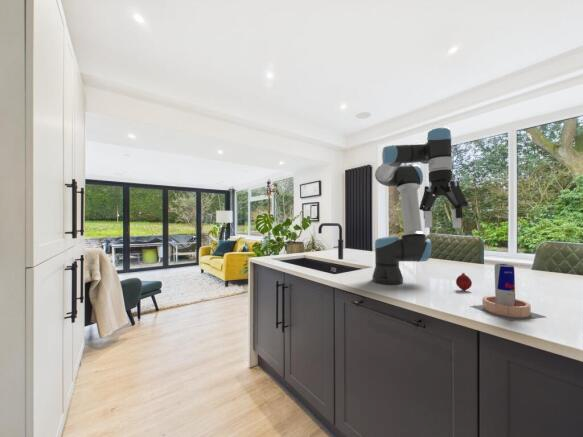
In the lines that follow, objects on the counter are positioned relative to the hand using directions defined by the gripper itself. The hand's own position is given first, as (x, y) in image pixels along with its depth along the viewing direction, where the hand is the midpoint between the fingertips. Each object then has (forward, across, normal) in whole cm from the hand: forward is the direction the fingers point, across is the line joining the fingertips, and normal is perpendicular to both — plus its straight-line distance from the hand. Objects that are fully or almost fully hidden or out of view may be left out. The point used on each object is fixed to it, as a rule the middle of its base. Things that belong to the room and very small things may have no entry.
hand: (441, 227), depth 93 cm
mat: (+29, +11, +14) cm, 34 cm away
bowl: (+28, +11, +14) cm, 33 cm away
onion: (+29, -15, +24) cm, 40 cm away
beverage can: (+28, +11, +14) cm, 33 cm away
